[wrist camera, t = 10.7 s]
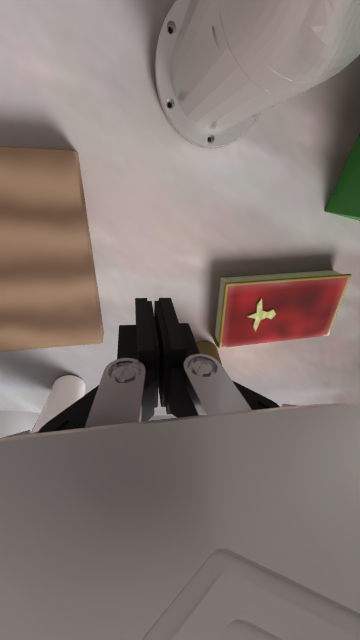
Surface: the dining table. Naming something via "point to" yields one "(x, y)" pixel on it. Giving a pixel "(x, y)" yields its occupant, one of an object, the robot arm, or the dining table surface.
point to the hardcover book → (277, 307)
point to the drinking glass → (60, 398)
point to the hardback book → (348, 188)
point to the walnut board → (45, 253)
